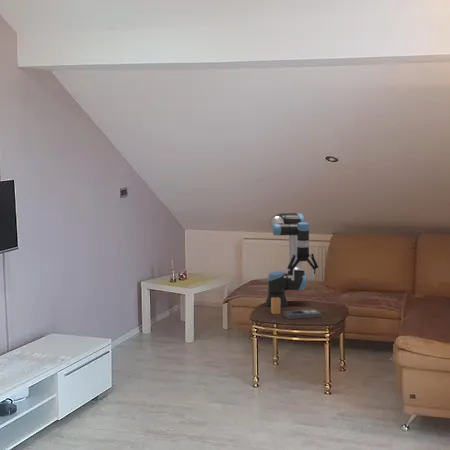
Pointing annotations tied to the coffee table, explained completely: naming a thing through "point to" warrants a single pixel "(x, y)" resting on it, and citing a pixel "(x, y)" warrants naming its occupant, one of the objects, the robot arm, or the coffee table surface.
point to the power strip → (301, 314)
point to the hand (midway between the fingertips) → (302, 279)
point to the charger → (275, 305)
